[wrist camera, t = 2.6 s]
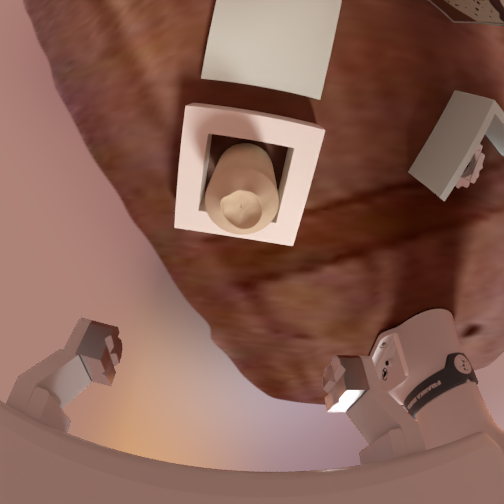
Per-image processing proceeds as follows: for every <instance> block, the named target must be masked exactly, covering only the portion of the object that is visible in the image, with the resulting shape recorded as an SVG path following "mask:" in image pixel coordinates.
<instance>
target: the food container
mask: <svg viewBox="0 0 504 504" xmlns="http://www.w3.org/2000/svg"><path fill="white" fill-rule="evenodd" d="M428 1H429V2H430V3H432V4H433V5H434V6H435V7H436V8H438V9H439V10H440V11H441V12H442V13H443V14H444V15H446V16H447V17H448V18H449V19H450V20H451V21H452V22H453V23H476V24H490V25H501V26H504V0H428Z"/></svg>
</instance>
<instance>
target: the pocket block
mask: <svg viewBox="0 0 504 504" xmlns="http://www.w3.org/2000/svg"><path fill="white" fill-rule="evenodd" d="M324 133H325V130H324V129H323V128H322V127H320V126H319V125H318V124H315V123H311V122H306V121H302V120H298V119H293V118H289V117H284V116H279V115H274V114H269V113H264V112H258V111H253V110H246V109H240V108H234V107H227V106H219V105H211V104H202V103H191V104H189V105H186V106H185V114H184V122H183V130H182V139H181V148H180V158H179V169H178V181H177V194H176V209H175V228H180V229H187V230H193V231H200V232H206V233H213V234H219V235H226V236H232V237H239V238H245V239H251V240H257V241H264V242H270V243H276V244H282V245H288V246H293V244H294V241H295V238H296V234H297V231H298V227H299V224H300V221H301V217H302V214H303V210H304V207H305V203H306V200H307V196H308V193H309V189H310V185H311V182H312V178H313V175H314V171H315V167H316V164H317V160H318V156H319V152H320V148H321V145H322V141H323V137H324ZM212 134H216V135H223V136H230V137H236V138H242V139H248V140H254V141H260V142H265V143H271V144H276V145H281V146H286V147H288V150H287V155H286V159H285V163H284V168H283V172H282V176H281V180H280V185H279V189H278V196H279V206H278V210H277V213H276V215H275V217H274V219H273V220H272V221H271V223H270V224H269V225H267V226H266V227H265V228H263V229H262V230H260V231H258V232H255V233H251V234H233V233H230V232H227V231H225V230H223V229H221V228H220V227H218V226H217V225H216V224H215V223H214V222H213V221H212V220H211V219H210V217H209V215H208V213H207V211H206V207H205V196H204V193H205V185H206V177H207V169H208V162H209V154H210V147H211V140H212Z"/></svg>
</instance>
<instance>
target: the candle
mask: <svg viewBox="0 0 504 504" xmlns="http://www.w3.org/2000/svg"><path fill="white" fill-rule="evenodd" d="M278 206H279V196H278V190H277V185H276V180H275V175H274V170H273V165H272V162H271V159H270V157H269V155H268V154H267V153H266V152H265V151H264V150H263V149H262V148H260V147H259V146H257V145H254V144H250V143H240V144H236V145H233V146H231V147H230V148H228V149H227V150H226V151H225V152H224V153H223V154H222V156H221V157H220V159H219V161H218V163H217V166H216V168H215V170H214V173H213V175H212V177H211V180H210V182H209V185H208V187H207V190H206V193H205V207H206V211H207V213H208V215H209V217H210V219H211V220H212V221H213V222H214V223H215V224H216V225H217V226H218V227H220V228H221V229H223V230H225V231H227V232H230V233H233V234H251V233H255V232H258V231H260V230H262V229H263V228H265V227H266V226H267V225H269V224H270V223H271V221H272V220H273V219H274V217H275V215H276V213H277V210H278Z"/></svg>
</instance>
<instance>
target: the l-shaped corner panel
mask: <svg viewBox="0 0 504 504" xmlns="http://www.w3.org/2000/svg"><path fill="white" fill-rule="evenodd" d="M484 135H486V136H487V137H488V138H489V140H490V141H491V142H492V143H493V145H494V146H495V147H496V149H497V150H498V151H499V153H500V154H501V155H502V156H504V112H503V110H502V109H501V108H500V106H499V105H498V104H497V102H496V101H495V100H494V99H490V98H486V97H482V96H478V95H474V94H470V93H466V92H461V91H456V90H455V91H454V93H453V94H452V96H451V98H450V100H449V102H448V104H447V106H446V108H445V110H444V111H443V113H442V115H441V117H440V119H439V120H438V122H437V124H436V126H435V128H434V129H433V131H432V133H431V135H430V136H429V138H428V140H427V141H426V143H425V145H424V146H423V148H422V150H421V151H420V153H419V155H418V156H417V158H416V160H415V161H414V163H413V165H412V166H411V168H410V169H409V171H408V173H410V174H411V175H412V176H413V177H415V178H416V179H417V180H419V181H420V182H421V183H422V184H424V185H425V186H426V187H427V188H429V189H430V190H431V191H432V192H434V193H435V194H436V195H437V196H438V197H440V198H441V199H442V200H443V201H444V202H445V200H446V199H447V197H448V196H449V194H450V193H451V191H452V190H453V188H454V187H455V185H456V188H459V187H461V186H463V187H465V188H468V186H469V184H470V182H471V183H473V184H474V183H475V182H476V179H477V178H478V177H479V171H480V170H481V169H482V168H483V165H482V163H483V161H484V158H485V155H484V154H483V153H481V150H482V148H483V146H482V145H481V144H480V142H481V141H482V139H483V137H484ZM469 162H470V164H469ZM468 164H469V166H468V167H467V165H468ZM466 167H467V169H466ZM465 169H466V170H465ZM464 170H465V172H464ZM463 172H464V173H463Z"/></svg>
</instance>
